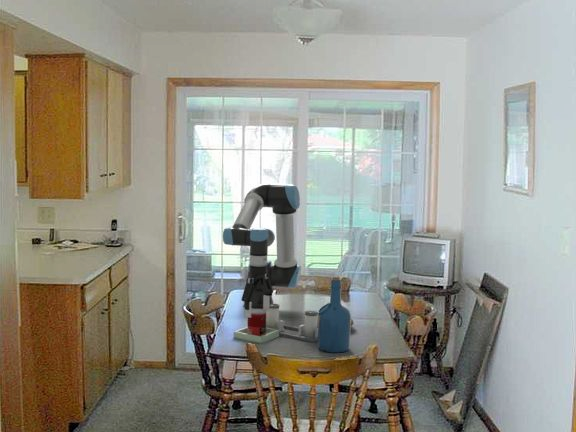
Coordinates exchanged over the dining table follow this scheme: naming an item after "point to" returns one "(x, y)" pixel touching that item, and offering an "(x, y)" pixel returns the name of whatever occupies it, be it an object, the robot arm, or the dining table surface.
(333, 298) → the wine bottle
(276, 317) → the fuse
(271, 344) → the dining table surface
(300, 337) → the fuse block
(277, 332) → the tray
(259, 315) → the canned food
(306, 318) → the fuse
